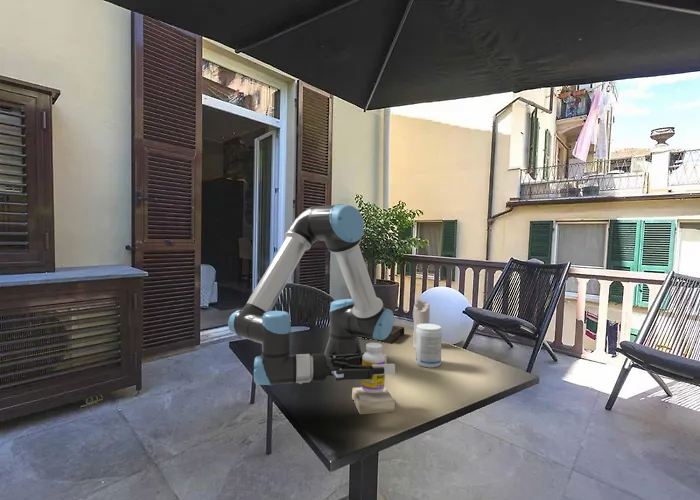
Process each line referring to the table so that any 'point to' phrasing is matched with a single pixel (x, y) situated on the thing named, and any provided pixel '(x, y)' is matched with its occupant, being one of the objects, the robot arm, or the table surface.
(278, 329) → the robot arm
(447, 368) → the table surface
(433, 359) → the supplement tub
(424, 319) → the candle
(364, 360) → the supplement bottle
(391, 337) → the diary
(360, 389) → the birch plinth
